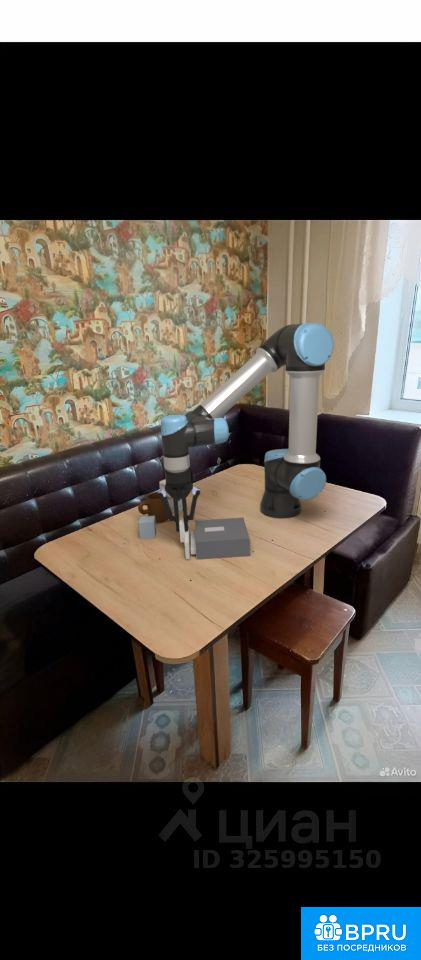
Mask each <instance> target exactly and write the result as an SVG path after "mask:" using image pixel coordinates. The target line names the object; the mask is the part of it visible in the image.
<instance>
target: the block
mask: <svg viewBox="0 0 421 960" xmlns="http://www.w3.org/2000/svg"><path fill="white" fill-rule="evenodd" d="M138 520H139V521H138V530H139V539H140V540H149V539H151V540H152V539H153V540H154V539H156V536H157V523H156V521H155V516H148V515H146V516H139V519H138Z"/></svg>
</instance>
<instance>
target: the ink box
mask: <svg viewBox="0 0 421 960" xmlns="http://www.w3.org/2000/svg"><path fill="white" fill-rule="evenodd" d="M165 485H166V480H165V479H162V480H160V481H159V491H160V490H163V489H164V488H165ZM166 494H167V499H168V503H169V505H170V508H171V511H172V514H175V513H174V502H173V498H172V497H171V496H170V495H169V494H168V493H167V492H166ZM178 508H179V514H180V513H183V506H182V499H180V498H179V499H178Z"/></svg>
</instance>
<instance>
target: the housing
mask: <svg viewBox="0 0 421 960" xmlns="http://www.w3.org/2000/svg"><path fill="white" fill-rule="evenodd" d="M245 521H246V520H245V518H244V517H235V518H234V517H232V518H231V517H228V518H227V517H226V518H218V519H216V518H215V519H213V518H212V519H199V520H194V532H195V541H196V554H195V555H196V560H197V561H198V560H210V559H223V558H227V559H228V558H239V557H240V558H241V557H250V556H251V537H250V535H249V532H248V528H247V525H246V522H245Z"/></svg>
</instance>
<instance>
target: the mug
mask: <svg viewBox="0 0 421 960" xmlns="http://www.w3.org/2000/svg"><path fill="white" fill-rule="evenodd" d="M158 492H159V491H158ZM158 492H153V493H149V494H147V495H146V500H142V501H140V503H138V505H137V506H138V507H137V509H138V510H137V511H138V512H139V513H140V514H141V515H147V516H155V521H156V524H163V523H166V522H167V521H169V518H168V516H167V513H166V510H165V507H164V505H163V502H162V500H161V499H160V498H159V496H158ZM166 497H167V494H166ZM167 500H168V499H167ZM144 506H146V508H147V509H144V508H143V507H144Z"/></svg>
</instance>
